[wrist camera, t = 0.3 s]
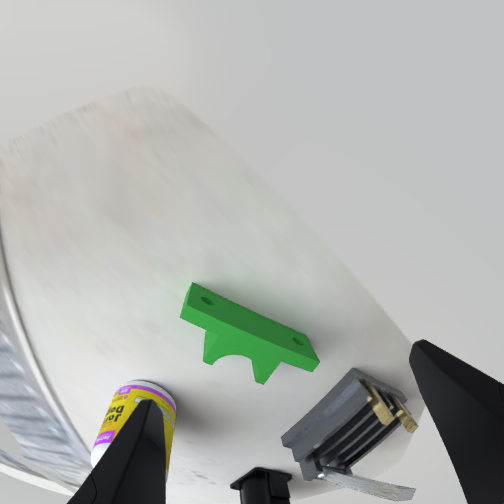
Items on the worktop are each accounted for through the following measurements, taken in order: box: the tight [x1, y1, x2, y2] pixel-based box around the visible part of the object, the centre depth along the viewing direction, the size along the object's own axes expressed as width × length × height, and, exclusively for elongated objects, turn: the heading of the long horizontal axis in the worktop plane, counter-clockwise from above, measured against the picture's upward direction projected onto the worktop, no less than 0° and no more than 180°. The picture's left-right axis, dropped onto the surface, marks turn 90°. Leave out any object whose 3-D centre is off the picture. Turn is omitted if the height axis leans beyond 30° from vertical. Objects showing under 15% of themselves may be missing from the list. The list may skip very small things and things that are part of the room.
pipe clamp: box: [180, 282, 320, 385], centre depth 23 cm, size 11×4×5 cm, turn 61°
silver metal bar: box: [314, 465, 416, 501], centre depth 20 cm, size 12×4×2 cm
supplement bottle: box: [91, 381, 177, 482], centre depth 20 cm, size 7×7×13 cm
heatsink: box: [281, 368, 418, 485], centre depth 26 cm, size 12×10×7 cm
